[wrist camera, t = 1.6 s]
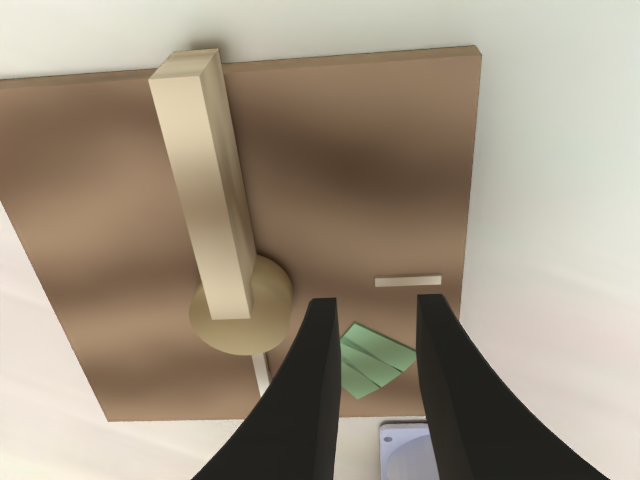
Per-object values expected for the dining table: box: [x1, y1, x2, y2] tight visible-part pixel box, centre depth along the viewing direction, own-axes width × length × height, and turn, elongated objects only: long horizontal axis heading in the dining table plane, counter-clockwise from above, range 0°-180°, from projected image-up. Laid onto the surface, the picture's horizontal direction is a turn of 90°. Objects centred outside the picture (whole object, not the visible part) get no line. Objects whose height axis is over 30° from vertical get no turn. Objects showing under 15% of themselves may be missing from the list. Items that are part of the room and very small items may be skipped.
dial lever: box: [148, 48, 293, 397], centre depth 23 cm, size 20×4×3 cm, turn 5°
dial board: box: [0, 46, 482, 422], centre depth 26 cm, size 20×20×1 cm
